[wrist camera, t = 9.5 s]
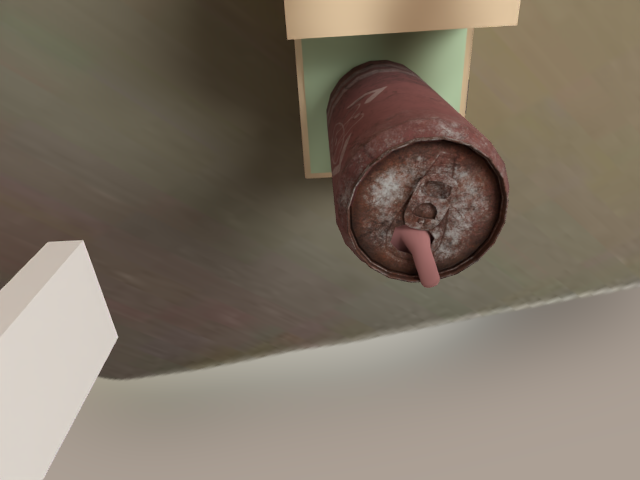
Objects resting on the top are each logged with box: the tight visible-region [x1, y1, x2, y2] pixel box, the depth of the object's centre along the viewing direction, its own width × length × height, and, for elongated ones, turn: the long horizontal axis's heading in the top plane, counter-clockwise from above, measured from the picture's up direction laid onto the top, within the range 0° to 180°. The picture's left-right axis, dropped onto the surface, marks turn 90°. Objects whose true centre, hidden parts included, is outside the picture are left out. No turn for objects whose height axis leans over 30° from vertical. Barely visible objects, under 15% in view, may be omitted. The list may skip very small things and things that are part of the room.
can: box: [326, 60, 509, 288], centre depth 21 cm, size 6×6×14 cm
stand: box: [284, 0, 521, 179], centre depth 25 cm, size 10×17×12 cm, turn 3°
